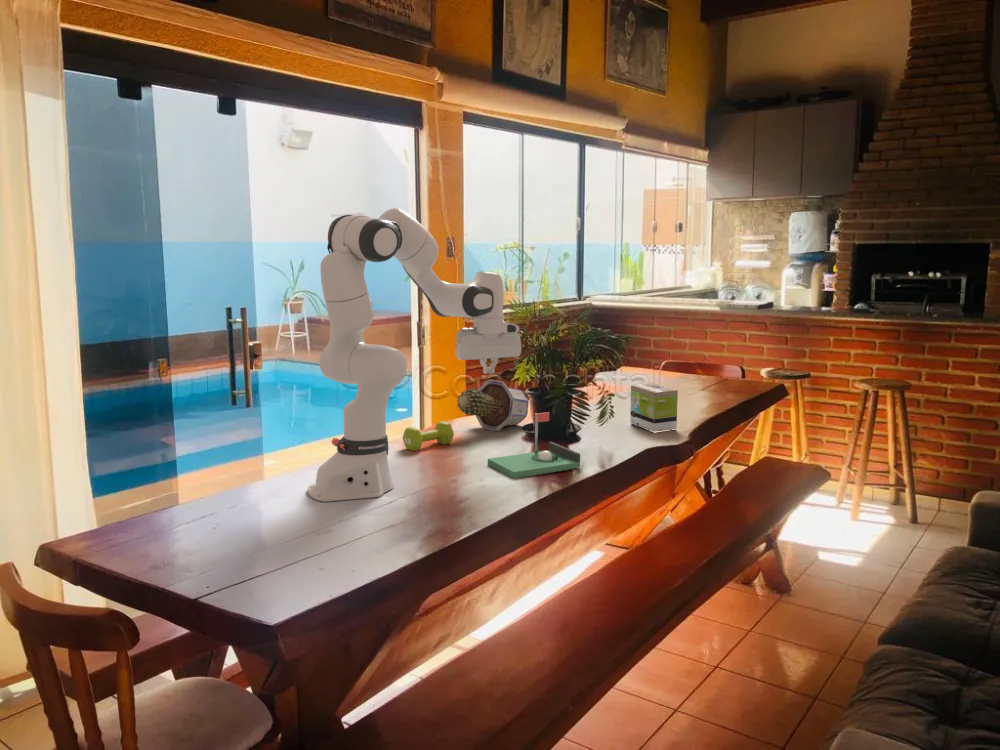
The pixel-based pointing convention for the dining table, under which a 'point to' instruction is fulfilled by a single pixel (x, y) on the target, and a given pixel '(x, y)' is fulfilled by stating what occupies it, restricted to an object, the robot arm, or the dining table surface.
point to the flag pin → (538, 418)
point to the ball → (545, 456)
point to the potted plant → (494, 405)
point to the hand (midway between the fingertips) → (488, 373)
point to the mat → (536, 462)
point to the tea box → (654, 407)
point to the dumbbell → (427, 436)
